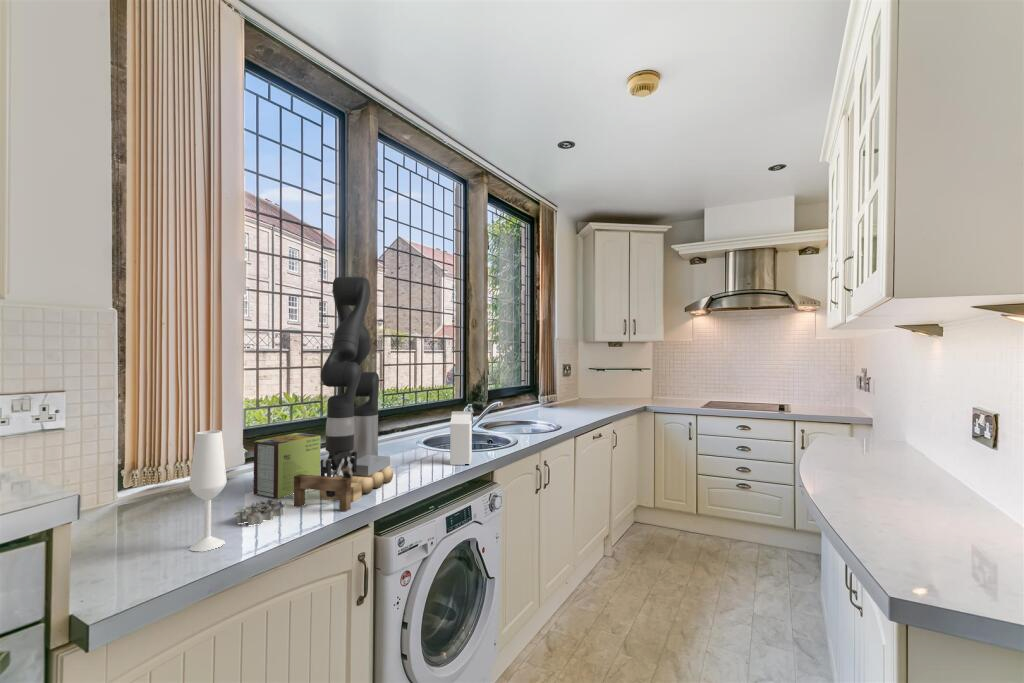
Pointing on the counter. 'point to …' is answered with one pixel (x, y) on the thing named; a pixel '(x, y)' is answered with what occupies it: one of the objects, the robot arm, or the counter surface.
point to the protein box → (284, 462)
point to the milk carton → (460, 438)
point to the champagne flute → (208, 480)
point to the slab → (371, 464)
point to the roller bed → (372, 479)
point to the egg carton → (259, 511)
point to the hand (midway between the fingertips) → (338, 492)
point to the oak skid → (355, 493)
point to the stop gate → (323, 488)
